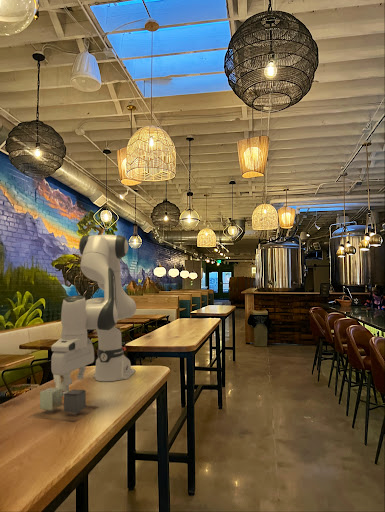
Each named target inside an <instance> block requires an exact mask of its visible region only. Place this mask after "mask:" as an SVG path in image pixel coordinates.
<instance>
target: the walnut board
mask: <svg viewBox="0 0 385 512" xmlns="http://www.w3.org/2000/svg"><path fill="white" fill-rule="evenodd" d="M98 408H99V406H96V405H86V408H84V409H82V410H81V411H80V413H79V414H78V415H76V416H75V415H70V412H64V402H62V406H60V407H58V408H57V411H55V412H53V413H46V410H44V409H40V410H39V411H36V412H35V413H33V414H31V415H28V418H32V419H40V420H41V419H42V420H50V421H59V422H68V423H76V422H77V421H80V420H81V419H82V418H84V417H86V416H87V415H88V414H90V413H92V412H94V411H95V410H96V409H98Z"/></svg>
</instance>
